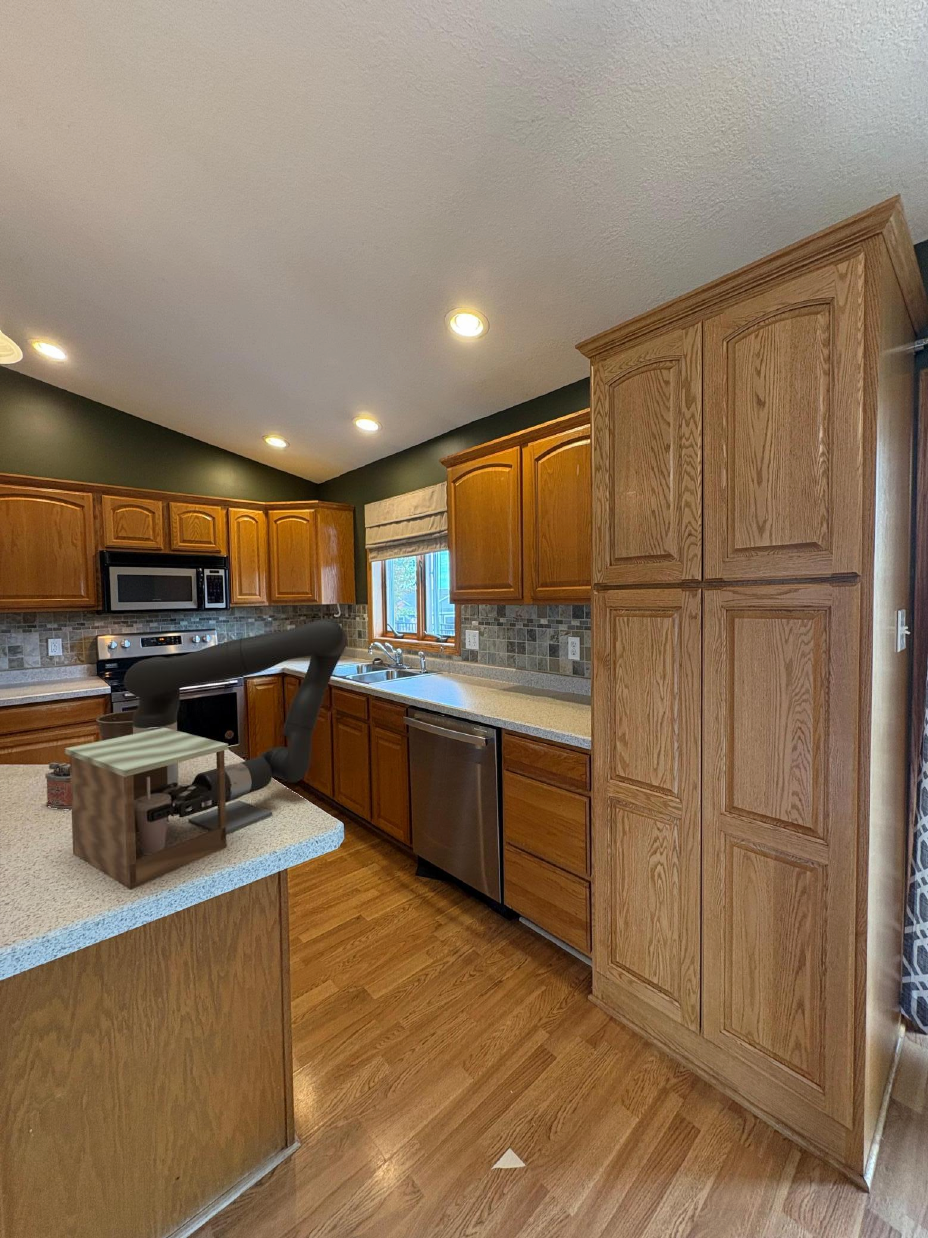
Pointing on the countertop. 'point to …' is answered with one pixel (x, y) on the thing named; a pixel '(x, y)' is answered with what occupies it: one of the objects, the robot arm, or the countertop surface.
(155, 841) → the smoothie
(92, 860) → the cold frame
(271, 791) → the countertop surface
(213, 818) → the slate mat
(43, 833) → the countertop surface
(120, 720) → the plant pot
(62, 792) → the lighter
